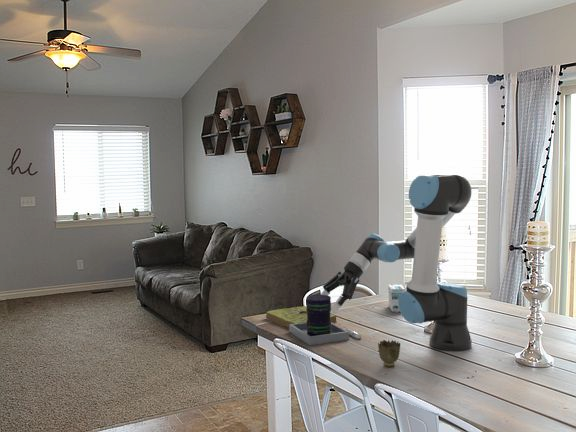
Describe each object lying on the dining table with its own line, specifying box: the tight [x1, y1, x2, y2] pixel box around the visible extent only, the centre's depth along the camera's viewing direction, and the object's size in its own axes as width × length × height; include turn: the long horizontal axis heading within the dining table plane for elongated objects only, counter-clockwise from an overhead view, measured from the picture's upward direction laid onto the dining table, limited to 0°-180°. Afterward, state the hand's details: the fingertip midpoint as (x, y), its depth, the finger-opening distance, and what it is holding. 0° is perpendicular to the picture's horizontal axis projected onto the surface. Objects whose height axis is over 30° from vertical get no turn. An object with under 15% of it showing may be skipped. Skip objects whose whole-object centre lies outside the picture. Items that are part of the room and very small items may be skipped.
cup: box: [377, 339, 401, 368], centre depth 197 cm, size 8×7×8 cm
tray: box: [288, 322, 350, 346], centre depth 233 cm, size 20×17×3 cm
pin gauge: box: [344, 327, 362, 340], centre depth 232 cm, size 10×2×2 cm
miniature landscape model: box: [265, 305, 337, 328], centre depth 257 cm, size 22×24×5 cm
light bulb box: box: [388, 284, 406, 313], centre depth 274 cm, size 11×7×11 cm, turn 179°
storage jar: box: [305, 294, 332, 336], centre depth 233 cm, size 10×10×15 cm
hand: (324, 307), depth 233 cm, fingers open, 13 cm apart
